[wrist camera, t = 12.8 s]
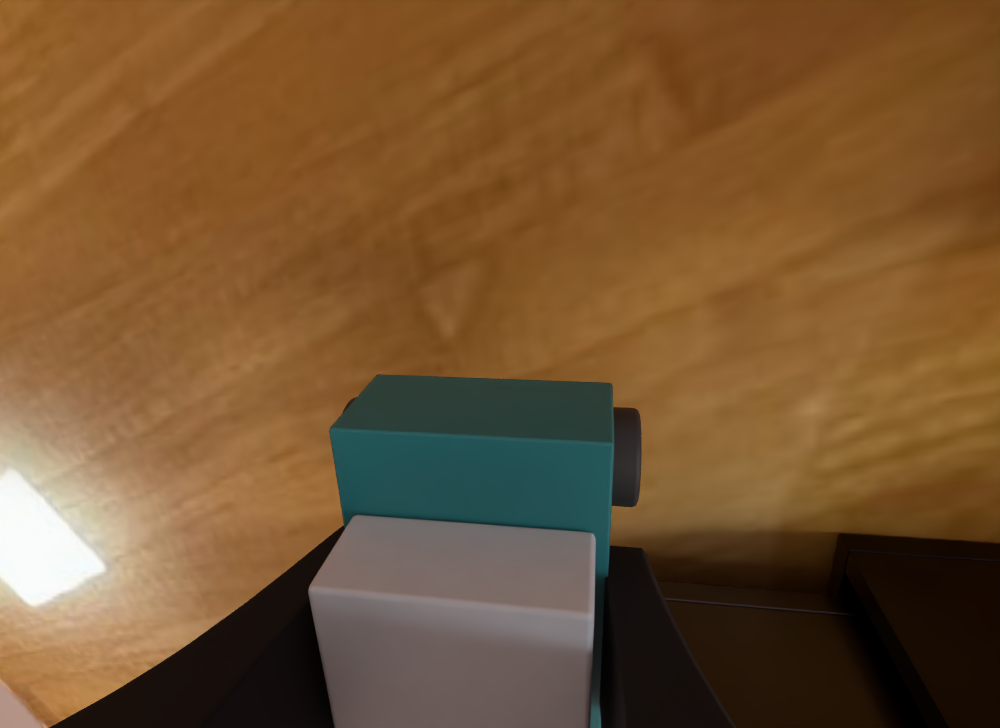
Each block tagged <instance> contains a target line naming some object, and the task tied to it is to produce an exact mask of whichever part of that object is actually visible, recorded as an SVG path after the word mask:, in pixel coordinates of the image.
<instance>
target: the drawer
mask: <svg viewBox="0 0 1000 728" xmlns="http://www.w3.org/2000/svg"><path fill="white" fill-rule="evenodd" d="M656 581H657V580H656ZM657 583H658V585H659V588H660V590H661V592H662V595H663V597H664V599H665V601H666V603H667V606H668V608H669V610H670V612H671V614H672V616H673V618H674V620H675V622H676V624H677V626H678V628H679V630H680V632H681V634H682V636H683V638H684V639H685V641H686V643H687V645H688V647H689V649H690V651H691V653H692V654H693V656H694V658H695V660H696V662H697V664H698V665H699V667H700V669H701V671H702V672H703V674H704V676H705V678H706V679H707V681H708V683H709V684H710V686H711V688H712V689H713V691H714V693H715V694H716V696H717V697H718V699H719V701H720V702H721V704H722V706H723V707H724V709H725V711H726V712H727V714H728V715H729V717H730V718H731V720H732V722H733V723H734V725H735V726H736V728H928V726H927V724H926V722H925V721H924V719H923V717H922V715H921V713H920V711H919V709H918V708H917V706H916V704H915V702H914V700H913V698H912V696H911V694H910V693H909V691H908V689H907V687H906V685H905V683H904V681H903V679H902V678H901V676H900V674H899V672H898V670H897V668H896V666H895V664H894V663H893V661H892V659H891V657H890V655H889V653H888V651H887V650H886V648H885V646H884V644H883V642H882V640H881V638H880V636H879V635H878V633H877V631H876V629H875V627H874V625H873V623H872V621H871V620H870V618H869V616H868V614H867V612H866V610H865V608H864V607H863V605H862V603H861V601H860V599H859V597H853V596H841V595H829V594H816V593H804V592H792V591H780V590H767V589H755V588H743V587H730V586H718V585H706V584H694V583H681V582H669V581H657Z"/></svg>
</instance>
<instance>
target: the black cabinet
mask: <svg viewBox="0 0 1000 728" xmlns="http://www.w3.org/2000/svg"><path fill="white" fill-rule="evenodd" d="M827 594H829V595H841V596H853V597H859V599H860V601H861V603H862V605H863V607H864V608H865V610H866V612H867V614H868V616H869V618H870V620H871V621H872V623H873V625H874V627H875V629H876V631H877V633H878V635H879V636H880V638H881V640H882V642H883V644H884V646H885V648H886V650H887V651H888V653H889V655H890V657H891V659H892V661H893V663H894V664H895V666H896V668H897V670H898V672H899V674H900V676H901V678H902V679H903V681H904V683H905V685H906V687H907V689H908V691H909V693H910V694H911V696H912V698H913V700H914V702H915V704H916V706H917V708H918V709H919V711H920V713H921V715H922V717H923V719H924V721H925V722H926V724H927V726H928V728H1000V544H989V543H974V542H959V541H944V540H929V539H914V538H898V537H883V536H868V535H853V534H839V538H838V543H837V548H836V552H835V557H834V561H833V566H832V571H831V575H830V580H829V584H828V589H827Z"/></svg>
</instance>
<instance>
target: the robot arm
mask: <svg viewBox="0 0 1000 728" xmlns="http://www.w3.org/2000/svg"><path fill="white" fill-rule="evenodd" d="M344 530H345V527H344V526H342V527H341V528H340V529H338V530H337V531H336V532H334V533H333V534H332V535H331V536H329V537H328V538H327V539H326V540H324V541H323V542H322V543H321V544H319V545H318V546H317V547H316V548H314V549H313V550H312V551H311V552H309V553H308V554H307V555H306V556H305V557H303V558H302V559H301V560H300V561H298V562H297V563H296V564H295V565H293V566H292V567H291V568H290V569H288V570H287V571H286V572H285V573H283V574H282V575H281V576H280V577H278V578H277V579H276V580H274V581H273V582H272V583H271V584H269V585H268V586H267V587H266V588H264V589H263V590H262V591H260V592H259V593H258V594H257V595H255V596H254V597H253V598H252V599H250V600H249V601H248V602H246V603H245V604H244V605H242V606H241V607H239V608H238V609H237V610H235V611H234V612H232V613H231V614H230V615H228V616H227V617H226V618H224V619H223V620H221V621H220V622H219V623H217V624H216V625H215V626H213V627H212V628H210V629H209V630H208V631H206V632H205V633H204V634H202V635H201V636H199V637H198V638H197V639H195V640H194V641H192V642H191V643H190V644H188V645H187V646H185V647H184V648H182V649H181V650H179V651H178V652H176V653H175V654H173V655H172V656H170V657H169V658H167V659H166V660H164V661H163V662H161V663H160V664H158V665H156V666H155V667H153V668H152V669H150V670H148V671H147V672H145V673H144V674H142V675H140V676H139V677H137V678H135V679H134V680H132V681H131V682H129V683H127V684H126V685H124V686H123V687H121V688H119V689H118V690H116V691H114V692H113V693H111V694H109V695H108V696H106V697H104V698H102V699H100V700H99V701H97V702H95V703H93V704H91V705H90V706H88V707H86V708H84V709H82V710H81V711H79V712H77V713H75V714H73V715H71V716H70V717H68V718H66V719H64V720H62V721H61V722H59V723H57V724H55V725H53V726H52V727H50V728H334V723H333V717H332V712H331V707H330V702H329V697H328V692H327V687H326V681H325V676H324V671H323V666H322V661H321V656H320V651H319V645H318V640H317V635H316V630H315V625H314V620H313V615H312V609H311V604H310V599H309V594H308V590H309V586H310V584H311V583H312V581H313V579H314V578H315V576H316V575H317V573H318V571H319V570H320V568H321V567H322V565H323V563H324V562H325V560H326V559H327V557H328V556H329V554H330V552H331V551H332V549H333V548H334V546H335V544H336V543H337V541H338V540H339V538H340V536H341V535H342V533H343V532H344ZM599 704H600V717H601V728H736V726H735V725H734V723H733V722H732V720H731V718H730V717H729V715H728V714H727V712H726V711H725V709H724V707H723V706H722V704H721V702H720V701H719V699H718V697H717V696H716V694H715V693H714V691H713V689H712V688H711V686H710V684H709V683H708V681H707V679H706V678H705V676H704V674H703V672H702V671H701V669H700V667H699V665H698V664H697V662H696V660H695V658H694V656H693V654H692V653H691V651H690V649H689V647H688V645H687V643H686V641H685V639H684V638H683V636H682V634H681V632H680V630H679V628H678V626H677V624H676V622H675V620H674V618H673V616H672V614H671V612H670V610H669V608H668V606H667V603H666V601H665V599H664V597H663V595H662V592H661V590H660V588H659V585H658V583H657V581H656V578H655V575H654V573H653V570H652V567H651V564H650V561H649V558H648V555H647V554H646V553H645V552H644V550H643V549H642V548H632V547H620V546H610V549H609V570H608V576H607V577H605V590H604V613H603V635H602V657H601V679H600V701H599Z"/></svg>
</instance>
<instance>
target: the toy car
mask: <svg viewBox="0 0 1000 728" xmlns="http://www.w3.org/2000/svg"><path fill="white" fill-rule="evenodd" d="M329 432H330V438H331V444H332V451H333V457H334V464H335V470H336V476H337V483H338V489H339V495H340V502H341V508H342V515H343V521H344V527H345V530H344V532H343V533H342V535H341V536H340V538H339V540H338V541H337V543H336V544H335V546H334V548H333V549H332V551H331V552H330V554H329V556H328V557H327V559H326V560H325V562H324V563H323V565H322V567H321V568H320V570H319V571H318V573H317V575H316V576H315V578H314V579H313V581H312V583H311V584H310V586H309V590H308V594H309V599H310V604H311V609H312V615H313V620H314V625H315V630H316V635H317V640H318V645H319V651H320V656H321V661H322V666H323V671H324V676H325V681H326V687H327V692H328V697H329V702H330V707H331V712H332V717H333V723H334V728H601V717H600V704H599V701H600V679H601V657H602V635H603V613H604V590H605V577H607V576H608V570H609V549H610V528H611V506H623V507H633V506H636V504H637V502H638V498H639V491H640V477H641V420H640V414H639V412H638V410H637V409H635V408H619V407H613V387H612V384H611V383H599V382H572V381H544V380H516V379H488V378H461V377H433V376H405V375H376V376H375V377H374V379H373V380H372V381H371V382H370V383H369V384H368V385H367V387H366V388H365V389H364V390H363V391H362V392H361V393H360V394H359V396H358V397H355V398H353V399H351V400H350V401H349V402H348V404H347V405H346V407H345V409H344V411H343V413H342V415H341V416H340V417H339V418H338V419H337V421H336V422H335V423H334V424H333V425H332V426H331V427H330V430H329Z"/></svg>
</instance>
